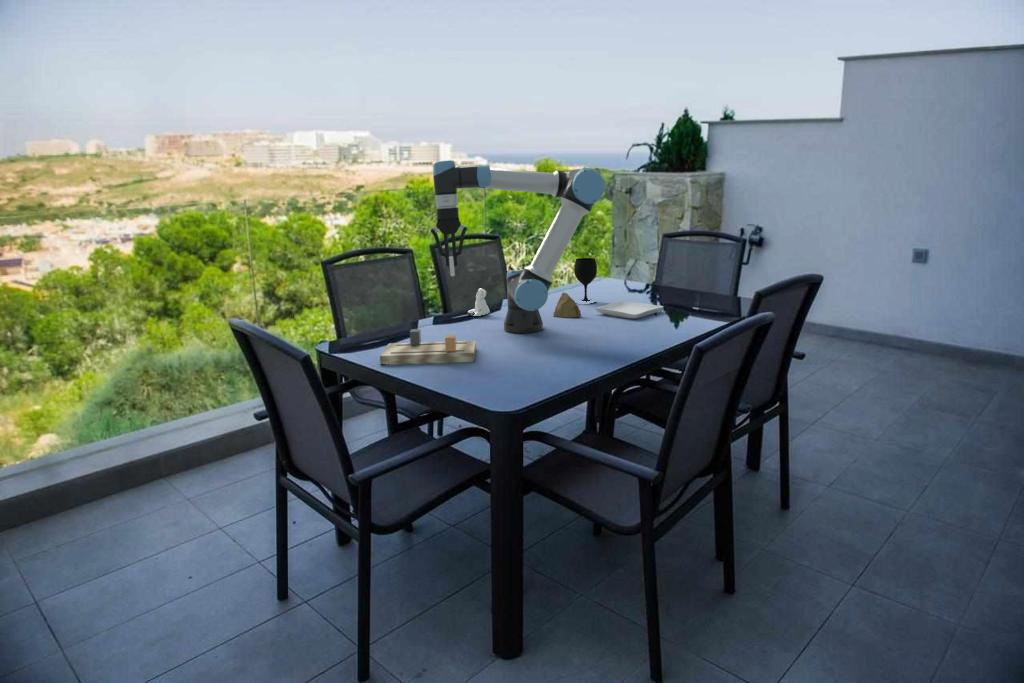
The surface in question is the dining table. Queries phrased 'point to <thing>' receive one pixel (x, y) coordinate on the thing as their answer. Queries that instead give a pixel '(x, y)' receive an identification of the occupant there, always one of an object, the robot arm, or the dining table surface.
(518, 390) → the dining table surface
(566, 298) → the rock
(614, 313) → the salad plate
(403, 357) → the fader console
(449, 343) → the orange fader
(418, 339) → the graphite fader
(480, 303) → the white creature statuette
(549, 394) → the dining table surface
